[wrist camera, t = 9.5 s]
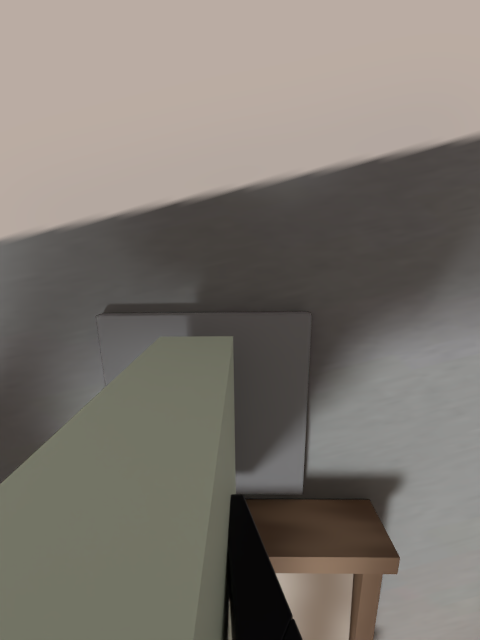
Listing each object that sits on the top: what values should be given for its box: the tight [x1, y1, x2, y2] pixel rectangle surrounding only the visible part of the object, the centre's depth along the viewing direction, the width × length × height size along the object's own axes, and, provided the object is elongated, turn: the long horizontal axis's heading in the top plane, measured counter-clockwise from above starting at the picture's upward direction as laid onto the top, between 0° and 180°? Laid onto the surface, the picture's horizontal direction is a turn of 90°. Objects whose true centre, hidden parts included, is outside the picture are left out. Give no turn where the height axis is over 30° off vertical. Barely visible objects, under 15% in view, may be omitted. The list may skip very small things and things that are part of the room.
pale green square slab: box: [0, 336, 236, 640], centre depth 7 cm, size 3×9×9 cm, turn 1°
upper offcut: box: [276, 573, 353, 640], centre depth 16 cm, size 5×9×1 cm, turn 2°
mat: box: [96, 312, 312, 494], centre depth 14 cm, size 10×10×1 cm
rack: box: [245, 499, 400, 640], centre depth 15 cm, size 14×13×3 cm
